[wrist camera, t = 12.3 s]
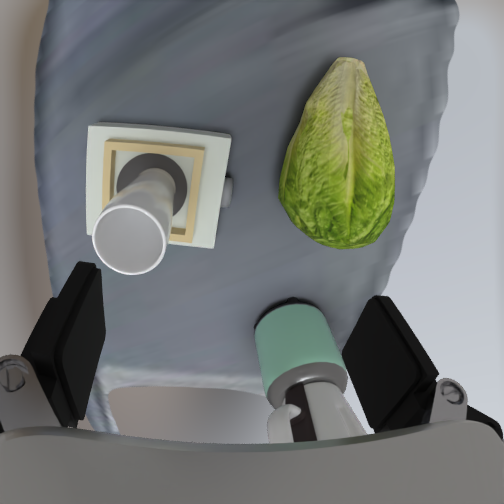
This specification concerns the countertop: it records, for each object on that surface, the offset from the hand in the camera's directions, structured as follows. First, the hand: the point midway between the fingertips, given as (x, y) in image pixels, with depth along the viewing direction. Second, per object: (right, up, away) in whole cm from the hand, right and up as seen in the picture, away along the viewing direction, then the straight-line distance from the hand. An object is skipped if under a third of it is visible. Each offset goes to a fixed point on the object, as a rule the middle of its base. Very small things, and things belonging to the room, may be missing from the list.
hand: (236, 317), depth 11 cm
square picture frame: (-13, +12, +32) cm, 36 cm away
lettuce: (+11, +18, +32) cm, 38 cm away
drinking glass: (-12, +10, +28) cm, 32 cm away
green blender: (+7, -10, +47) cm, 49 cm away
